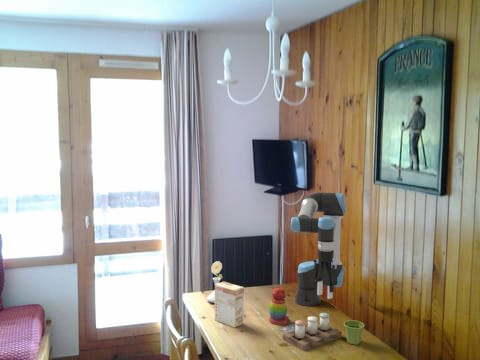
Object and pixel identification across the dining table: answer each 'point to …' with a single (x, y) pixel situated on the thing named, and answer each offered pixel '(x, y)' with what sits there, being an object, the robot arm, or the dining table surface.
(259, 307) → the dining table surface
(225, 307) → the coffeecake box
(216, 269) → the flower in vase
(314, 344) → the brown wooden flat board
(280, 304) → the stacking bear
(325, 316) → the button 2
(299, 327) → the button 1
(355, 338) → the plant pot
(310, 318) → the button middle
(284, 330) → the card
